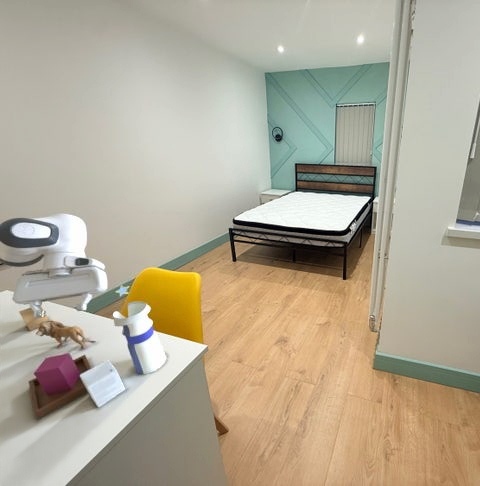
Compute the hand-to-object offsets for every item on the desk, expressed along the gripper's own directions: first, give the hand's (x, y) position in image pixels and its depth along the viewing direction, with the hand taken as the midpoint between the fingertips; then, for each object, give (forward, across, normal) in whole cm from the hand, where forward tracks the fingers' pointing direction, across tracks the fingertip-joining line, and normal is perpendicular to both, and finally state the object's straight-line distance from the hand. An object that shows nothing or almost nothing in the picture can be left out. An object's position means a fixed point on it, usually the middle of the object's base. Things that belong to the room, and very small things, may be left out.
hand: (60, 314), depth 72 cm
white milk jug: (+18, +20, +4) cm, 27 cm away
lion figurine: (+7, -6, +16) cm, 19 cm away
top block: (+18, +1, +3) cm, 19 cm away
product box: (+23, +12, -1) cm, 26 cm away
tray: (+19, +1, +3) cm, 19 cm away
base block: (-4, -22, +28) cm, 36 cm away
